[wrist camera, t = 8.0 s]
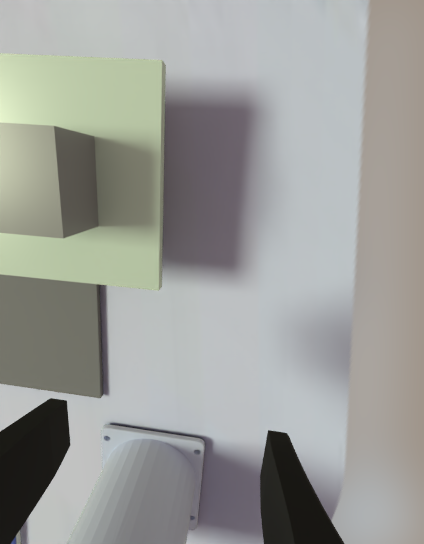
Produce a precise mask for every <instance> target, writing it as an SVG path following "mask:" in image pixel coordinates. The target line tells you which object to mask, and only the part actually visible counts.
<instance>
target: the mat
mask: <svg viewBox="0 0 424 544" xmlns="http://www.w3.org/2000/svg"><path fill="white" fill-rule="evenodd" d="M0 384H7V385H14V386H21V387H27V388H34V389H41V390H48V391H55V392H62V393H68V394H75V395H82V396H89V397H96V398H101V397H102V395H103V379H102V349H101V319H100V290H99V284H90V283H80V282H70V281H61V280H51V279H41V278H31V277H21V276H12V275H2V274H0Z"/></svg>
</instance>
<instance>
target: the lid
mask: <svg viewBox="0 0 424 544" xmlns="http://www.w3.org/2000/svg"><path fill="white" fill-rule="evenodd" d="M165 75H166V65H165V64H164V62H163V61H162V60H146V59H122V58H98V57H73V56H49V55H25V54H1V53H0V274H2V275H12V276H21V277H31V278H41V279H51V280H61V281H70V282H80V283H90V284H100V285H109V286H119V287H129V288H139V289H148V290H158V291H159V290H160V288H161V287H162V247H163V190H164V132H165Z"/></svg>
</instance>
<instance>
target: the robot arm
mask: <svg viewBox="0 0 424 544" xmlns="http://www.w3.org/2000/svg"><path fill="white" fill-rule="evenodd" d="M108 436H109V437H108ZM69 447H70V436H69V423H68V411H67V401H65V400H58V399H52V398H50V399H49V400H47V401H46V402H44V403H43V404H41V405H40V406H38V407H37V408H35V409H34V410H32V411H31V412H29V413H28V414H26V415H25V416H23V417H22V418H20V419H19V420H17V421H16V422H14V423H13V424H11V425H10V426H8V427H7V428H5V429H4V430H2V431H1V432H0V544H11V543H12V541H13V540H14V538H15V537H16V535H17V534H18V532H19V530H20V529H21V527H22V526H23V524H24V523H25V521H26V520H27V518H28V517H29V515H30V514H31V512H32V510H33V509H34V507H35V506H36V504H37V503H38V501H39V500H40V498H41V497H42V495H43V493H44V492H45V490H46V489H47V487H48V486H49V484H50V483H51V481H52V479H53V478H54V476H55V474H56V472H57V470H58V469H59V467H60V465H61V463H62V461H63V459H64V457H65V455H66V453H67V451H68V449H69ZM101 447H102V472H101V474H100V476H99V478H98V480H97V482H96V484H95V486H94V488H93V490H92V493H91V495H90V497H89V499H88V501H87V503H86V505H85V507H84V509H83V511H82V513H81V515H80V517H79V519H78V521H77V523H76V525H75V527H74V530H73V532H72V534H71V536H70V538H69V540H68V542H67V544H186V540H187V534H188V530H194V529H196V527H197V522H198V511H199V501H200V491H201V480H202V470H203V460H204V449H205V442H204V441H203V440H202V439H200V438H194V437H188V436H181V435H175V434H168V433H162V432H155V431H148V430H142V429H135V428H129V427H122V426H116V425H104V426H103V428H102V430H101ZM197 450H199V451H197ZM260 493H261V518H262V529H263V539H264V544H344V542H343V541H342V539H341V537H340V536H339V534H338V532H337V531H336V529H335V527H334V526H333V524H332V522H331V520H330V519H329V517H328V515H327V513H326V512H325V510H324V508H323V506H322V504H321V503H320V501H319V499H318V497H317V495H316V493H315V491H314V489H313V487H312V485H311V484H310V482H309V480H308V478H307V476H306V474H305V472H304V469H303V467H302V465H301V463H300V461H299V459H298V457H297V454H296V452H295V450H294V447H293V445H292V443H291V440H290V438H289V436H288V435H287V433H283V432H276V431H269V430H268V435H267V440H266V446H265V452H264V458H263V463H262V469H261V475H260Z"/></svg>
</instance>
